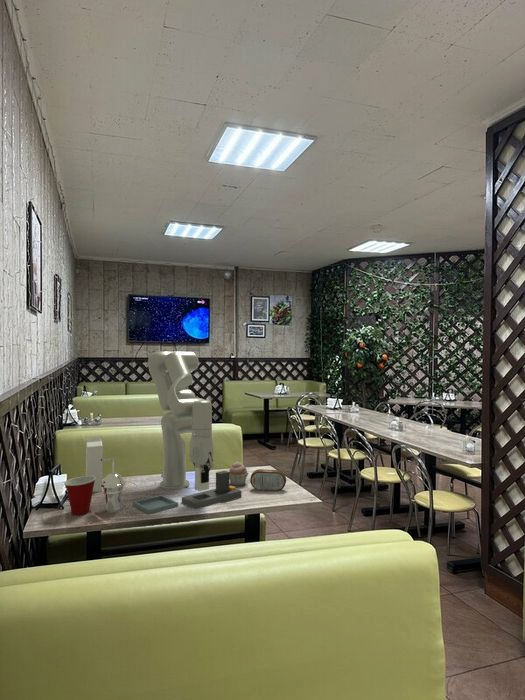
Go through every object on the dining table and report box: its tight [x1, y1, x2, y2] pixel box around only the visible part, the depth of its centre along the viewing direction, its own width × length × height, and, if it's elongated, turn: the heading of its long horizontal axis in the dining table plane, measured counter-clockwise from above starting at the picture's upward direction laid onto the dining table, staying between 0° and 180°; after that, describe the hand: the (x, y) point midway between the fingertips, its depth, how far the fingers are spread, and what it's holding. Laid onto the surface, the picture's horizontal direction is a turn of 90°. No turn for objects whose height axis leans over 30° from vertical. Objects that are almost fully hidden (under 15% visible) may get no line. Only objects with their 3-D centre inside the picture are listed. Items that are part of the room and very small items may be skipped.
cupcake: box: [228, 460, 250, 487], centre depth 196 cm, size 9×9×10 cm
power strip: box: [181, 485, 242, 510], centre depth 175 cm, size 9×22×3 cm, turn 132°
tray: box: [132, 494, 179, 515], centre depth 167 cm, size 12×12×2 cm
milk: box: [85, 436, 104, 493], centre depth 187 cm, size 6×6×22 cm
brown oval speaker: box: [249, 468, 287, 492], centre depth 188 cm, size 15×3×8 cm, turn 84°
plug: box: [194, 463, 210, 492], centre depth 171 cm, size 3×4×10 cm
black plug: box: [215, 470, 230, 494], centre depth 178 cm, size 3×4×10 cm
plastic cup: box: [63, 475, 96, 516], centre depth 161 cm, size 11×11×12 cm
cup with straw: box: [101, 458, 127, 513], centre depth 162 cm, size 8×9×20 cm
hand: (202, 481), depth 171 cm, fingers closed on plug, 3 cm apart
